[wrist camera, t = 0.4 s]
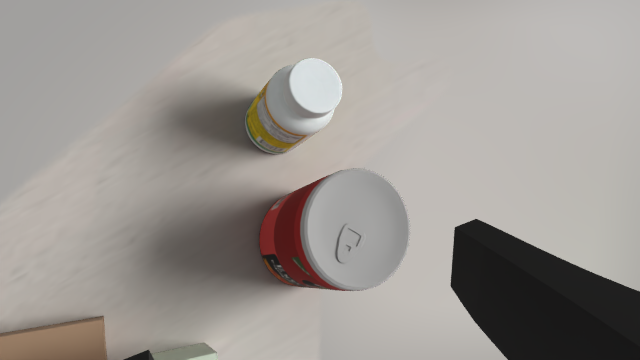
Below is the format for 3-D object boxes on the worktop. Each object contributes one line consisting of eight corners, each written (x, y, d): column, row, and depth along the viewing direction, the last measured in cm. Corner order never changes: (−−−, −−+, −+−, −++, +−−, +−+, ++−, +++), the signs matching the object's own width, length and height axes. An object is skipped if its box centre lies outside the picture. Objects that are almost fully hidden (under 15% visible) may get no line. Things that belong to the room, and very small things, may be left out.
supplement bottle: (256, 163, 40) (295, 132, 31) (234, 103, 40) (266, 57, 32) (312, 145, 42) (362, 111, 34) (290, 88, 42) (334, 41, 34)
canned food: (246, 276, 38) (292, 278, 28) (268, 181, 40) (317, 151, 30) (332, 295, 41) (402, 302, 31) (348, 204, 43) (419, 184, 33)
